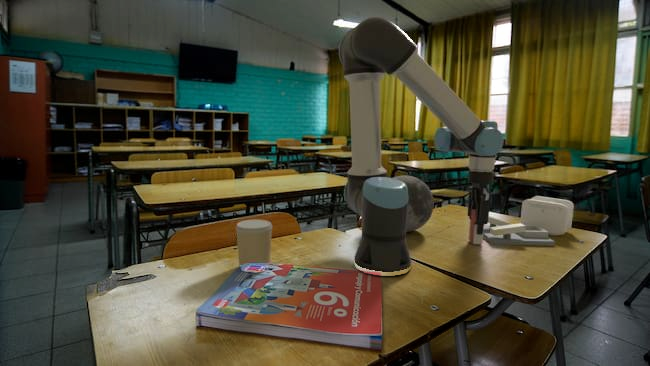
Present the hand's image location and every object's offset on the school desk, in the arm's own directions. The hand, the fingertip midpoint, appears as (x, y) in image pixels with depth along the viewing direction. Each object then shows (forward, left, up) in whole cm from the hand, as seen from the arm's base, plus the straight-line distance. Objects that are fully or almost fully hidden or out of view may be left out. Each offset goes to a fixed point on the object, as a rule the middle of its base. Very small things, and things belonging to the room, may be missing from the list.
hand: (475, 241), depth 124 cm
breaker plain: (+11, +13, +4) cm, 17 cm away
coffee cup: (-67, -25, -1) cm, 72 cm away
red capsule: (0, 0, -1) cm, 1 cm away
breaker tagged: (+11, +2, +3) cm, 12 cm away
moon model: (-21, +13, -1) cm, 25 cm away
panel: (+15, +8, -1) cm, 17 cm away
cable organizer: (+32, +17, -1) cm, 36 cm away
